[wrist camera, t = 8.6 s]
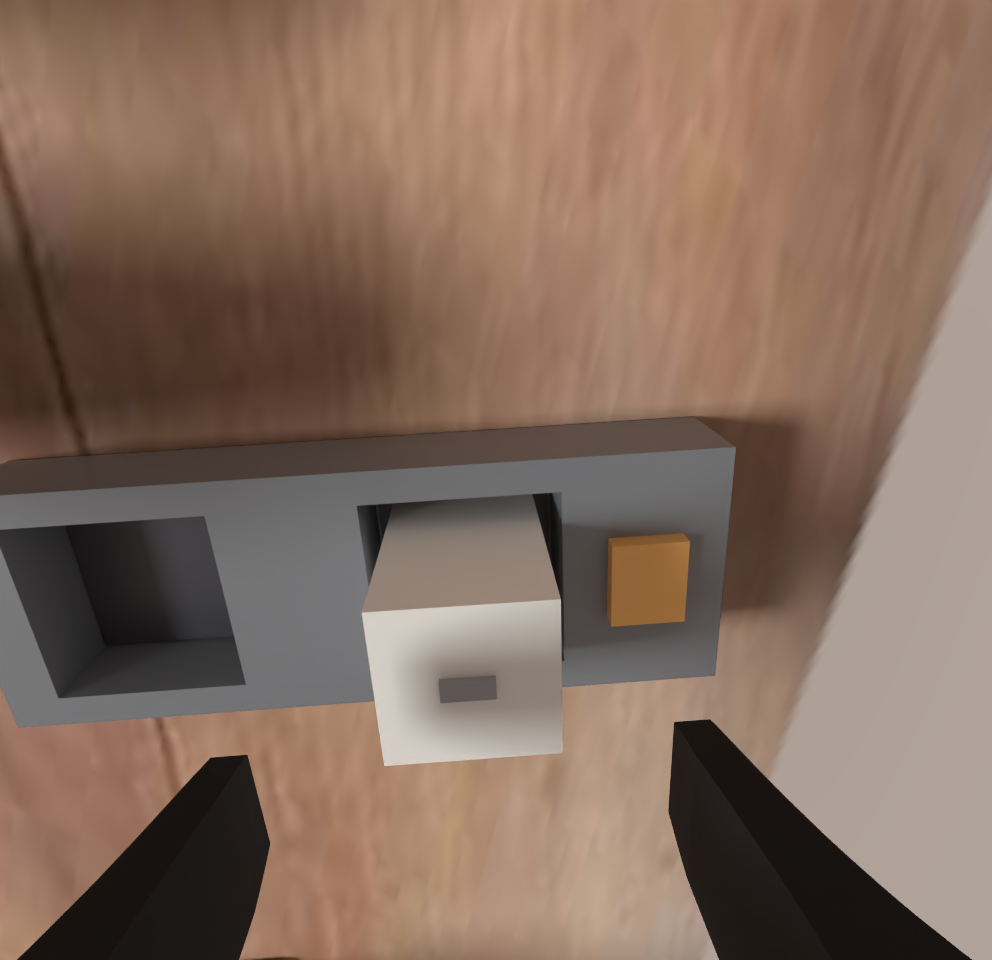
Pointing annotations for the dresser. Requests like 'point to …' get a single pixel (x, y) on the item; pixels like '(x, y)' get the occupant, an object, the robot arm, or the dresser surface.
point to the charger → (465, 633)
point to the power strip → (338, 562)
